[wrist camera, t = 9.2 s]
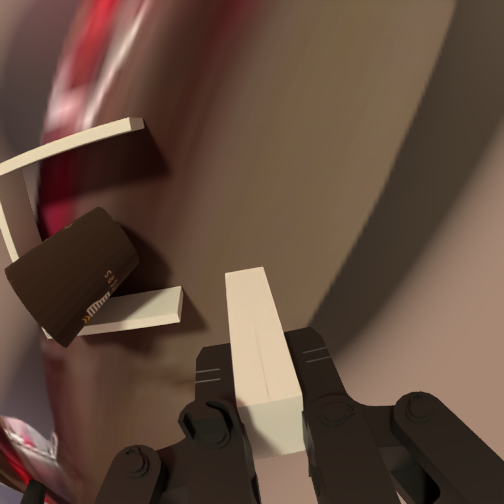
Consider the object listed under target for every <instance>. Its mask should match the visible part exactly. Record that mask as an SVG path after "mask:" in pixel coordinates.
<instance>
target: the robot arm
mask: <svg viewBox="0 0 504 504" xmlns="http://www.w3.org/2000/svg"><path fill="white" fill-rule="evenodd" d="M225 279H226V292H227V305H228V317H229V329H230V340H231V343H227V344H221V345H215V346H208V347H203V348H202V350H201V352H200V353H199V355H198V357H197V359H196V385H195V400H194V401H193V402H191V403H190V404H188V405H186V407H185V408H184V409H183V410H182V411H181V413H180V415H179V419H178V423H179V425H180V427H181V428H182V430H183V432H184V434H185V436H186V438H184V439H183V440H182V441H180V442H178V443H176V444H174V445H171V446H169V447H166V448H163V449H160V450H157V451H154V450H153V449H152V448H150V447H148V446H145V445H132V446H129V447H126V448H124V449H123V450H121V451H120V452H119V453H118V454H117V455H116V457H115V458H114V459H113V461H112V463H111V466H110V468H109V470H108V472H107V475H106V477H105V479H104V482H103V484H102V486H101V488H100V491H99V493H98V495H97V498H96V500H95V502H94V504H261V497H260V492H259V485H258V478H257V474H256V472H255V467H254V460H255V459H262V458H268V457H274V456H279V455H285V454H289V453H295V452H299V451H304V450H305V448H306V452H307V456H308V461H309V477H311V478H312V482H313V485H314V490H315V493H316V497H317V501H318V504H401V502H400V500H399V497H398V495H397V492H398V493H399V495H400V496H401V497H402V498H403V499H404V501H405V502H406V503H407V504H504V461H503V460H502V459H501V458H500V457H499V456H498V455H497V454H496V453H495V452H494V451H493V450H492V449H491V448H490V447H488V446H487V445H486V444H485V443H484V442H483V441H482V440H481V439H480V438H479V437H478V436H477V435H476V434H475V433H474V432H473V431H472V430H471V429H470V428H469V427H468V426H466V425H465V424H464V423H463V422H462V421H461V420H460V419H459V418H458V417H457V416H456V415H455V414H454V413H453V412H452V411H450V410H449V409H448V408H447V407H446V406H445V405H444V404H443V403H442V402H441V401H440V400H439V399H438V398H436V397H434V396H433V395H431V394H429V393H425V392H411V393H408V394H406V395H404V396H402V397H401V398H400V399H399V400H398V401H397V402H396V405H392V406H367V405H363V404H360V403H358V402H356V401H354V400H353V399H352V398H350V396H348V394H347V393H346V391H345V388H344V386H343V384H342V381H341V379H340V377H339V375H338V372H337V370H336V368H335V366H334V363H333V361H332V359H331V358H330V354H329V353H328V350H327V349H326V346H325V343H324V341H323V339H322V337H321V335H320V334H319V333H317V332H316V331H315V330H314V329H312V328H311V327H307V328H302V329H298V330H293V331H288V332H283V330H282V327H281V324H280V320H279V317H278V314H277V311H276V308H275V304H274V301H273V298H272V295H271V291H270V288H269V285H268V282H267V278H266V275H265V272H264V269H263V267H258V268H253V269H247V270H241V271H236V272H230V273H225ZM253 459H254V460H253ZM396 491H397V492H396Z"/></svg>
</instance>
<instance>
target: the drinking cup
mask: <svg viewBox="0 0 504 504" xmlns="http://www.w3.org/2000/svg"><path fill="white" fill-rule="evenodd" d="M45 492H46V487H45V486H44V485H43V484H41V483H39V482H37V481H35V480H29V483H28V485H27V488H26V490H25V493H24V495H23V498H22V501H21V503H20V504H44V499H45Z"/></svg>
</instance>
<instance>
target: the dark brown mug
mask: <svg viewBox="0 0 504 504" xmlns="http://www.w3.org/2000/svg"><path fill="white" fill-rule="evenodd" d="M139 262H140V261H139V257H138V254H137V252H136V250H135V248H134V246H133V244H132V243H131V241H130V240H129V238H128V237H127V235H126V234H125V232H124V231H123V230H122V228H121V227H120V226H119V225H118V223H117V222H116V221H115V220H114V219H113V218H112V217H111V216H110V215H109V214H108V213H107V212H106V211H105V210H104V209H102V208H101V207H97V208H95V209H93V210H92V211H90V212H88V213H87V214H85V215H83V216H82V217H80V218H79V219H77V220H75V221H74V222H72V223H71V224H69V225H67V226H66V227H64V228H63V229H61V230H60V231H58V232H57V233H55V234H54V235H52V236H51V237H49V238H48V239H46V240H45V241H43V242H42V243H40V244H39V245H37V246H36V247H34V248H33V249H32V250H30V251H29V252H27V253H26V254H24V255H23V256H22V257H20V258H19V259H17V260H16V261H15V262H13V263H12V264H11V265H9V266H8V267H7V268H5V274H6V276H7V279H8V281H9V283H10V284H11V286H12V288H13V289H14V291H15V293H16V294H17V296H18V297H19V299H20V300H21V301H22V303H23V304H24V306H25V307H26V309H27V310H28V311H29V312H30V314H31V315H32V316H33V317H34V319H35V320H36V321H37V322H38V323H39V324H40V326H41V327H42V328H43V329H44V330H45V331H46V332H47V333H48V334H49V335H50V336H51V337H52V338H53V339H54V340H55V341H57V342H58V343H59V344H60V345H62V346H63V347H65V348H67V347H68V346H69V345H70V343H71V342H72V341H73V340H74V338H75V337H76V336H77V335H78V333H79V332H80V331H81V330H82V329H83V327H84V326H85V325H86V324H87V322H88V321H89V320H90V319H91V318H92V316H93V315H94V314H95V313H96V312H97V311H98V309H99V308H100V307H101V306H102V305H103V303H104V302H105V301H106V300H107V299H108V298H109V296H110V295H111V294H112V293H113V292H114V291H115V290H116V288H117V287H118V286H119V285H120V284H121V283H122V282H123V280H124V279H125V278H126V277H127V276H128V275H129V274H130V273H131V272H132V270H133V269H134V268H135V267H136V266H137V265H138V264H139Z"/></svg>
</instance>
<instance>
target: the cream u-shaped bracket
mask: <svg viewBox="0 0 504 504" xmlns="http://www.w3.org/2000/svg"><path fill="white" fill-rule="evenodd" d="M140 129H144V123H143V118H125V119H122V120H118V121H115V122H111V123H108V124H104V125H101V126H98V127H95V128H92V129H88V130H85V131H82V132H79V133H76V134H73V135H70V136H68V137H65V138H62V139H59V140H57V141H54V142H51V143H49V144H46V145H43V146H41V147H38V148H36V149H33V150H31V151H28V152H26V153H24V154H21V155H19V156H16V157H14V158H12V159H10V160H7V161H5V162H3V163H1V164H0V228H1V231H2V234H3V237H4V240H5V243H6V245H7V248H8V251H9V254H10V257H11V259H12V262H15V261H16V260H17V259H19V258H20V257H22V256H23V255H24V254H26V253H27V252H29V251H30V250H32V249H33V248H34V247H36V246H37V245H39V244H40V243H42V240H41V237H40V234H39V231H38V228H37V225H36V222H35V218H34V215H33V212H32V208H31V205H30V201H29V198H28V194H27V190H26V187H25V182H24V179H23V174H22V170H21V168H23V167H25V166H28V165H30V164H33V163H35V162H38V161H41V160H43V159H46V158H49V157H52V156H54V155H57V154H60V153H63V152H66V151H69V150H72V149H75V148H78V147H81V146H84V145H87V144H90V143H94V142H97V141H100V140H103V139H107V138H110V137H114V136H117V135H121V134H125V133H128V132H132V131H136V130H140ZM182 302H183V291H182V287H181V286H178V287H172V288H167V289H161V290H155V291H149V292H143V293H137V294H131V295H125V296H119V297H113V298H108V299H107V300H106V301H105V302H104V303H103V305H102V306H101V307H100V308H99V309H98V311H97V312H96V313H95V314H94V315H93V316H92V318H91V319H90V320H89V321H88V322H87V324H86V325H85V326H84V327H83V329H82V330H81V331H80V332H79V333H78V335H77V336H80V335H88V334H97V333H105V332H113V331H121V330H128V329H136V328H143V327H150V326H157V325H164V324H170V323H177V322H180V319H181V310H182ZM42 329H43V328H42ZM43 331H44V333H45V335H46V336H47V338H48V339H51V338H52V337H51V336H50V335H49V334H48V333H47V332H46V331H45V330H44V329H43Z"/></svg>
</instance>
